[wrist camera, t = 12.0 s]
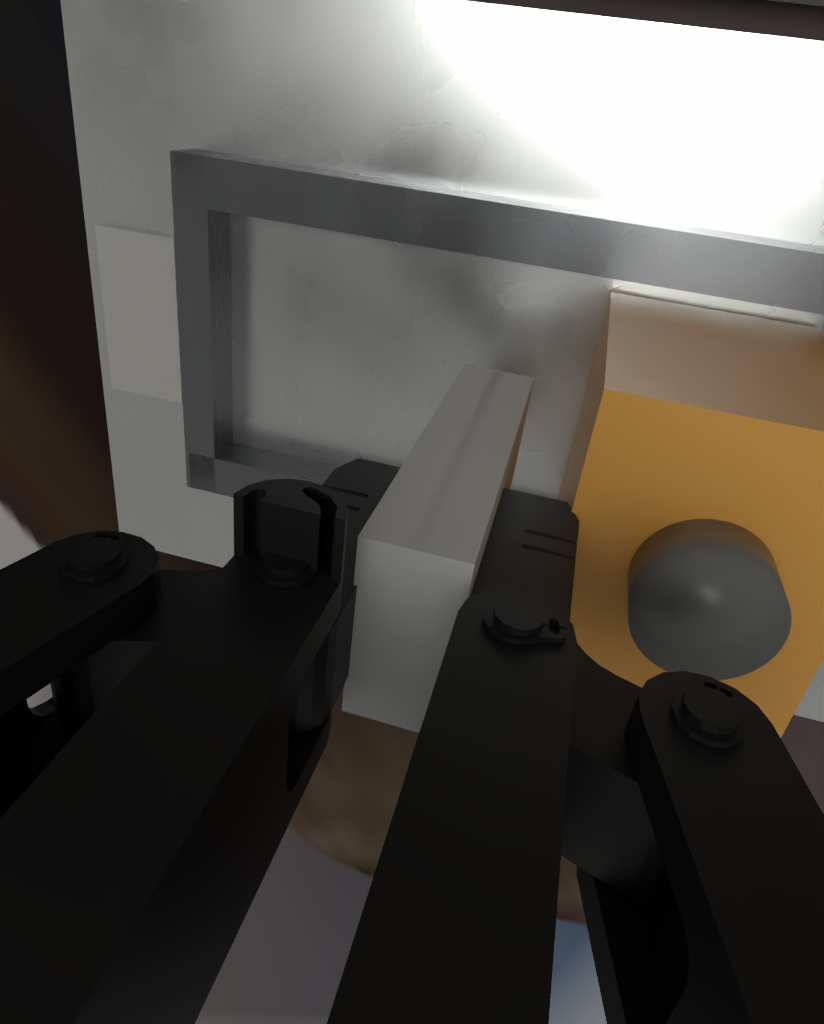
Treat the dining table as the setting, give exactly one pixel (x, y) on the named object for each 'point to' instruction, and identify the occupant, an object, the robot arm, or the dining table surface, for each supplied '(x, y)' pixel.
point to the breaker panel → (409, 223)
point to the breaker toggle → (702, 500)
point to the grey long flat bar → (803, 2)
